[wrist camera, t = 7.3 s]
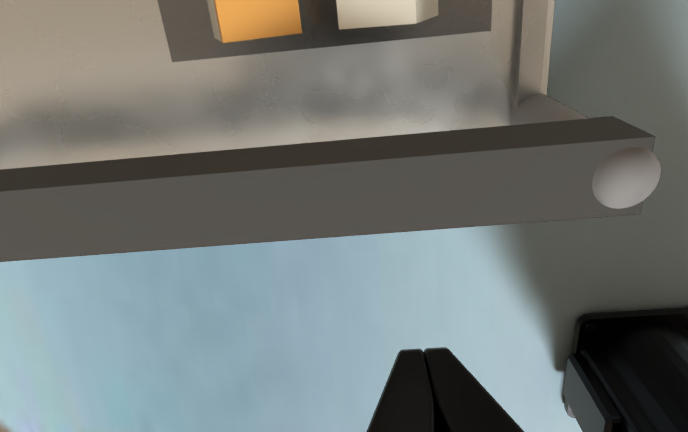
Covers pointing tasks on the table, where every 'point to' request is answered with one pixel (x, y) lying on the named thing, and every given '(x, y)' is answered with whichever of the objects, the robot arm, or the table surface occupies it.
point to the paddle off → (253, 19)
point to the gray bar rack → (333, 187)
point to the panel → (252, 77)
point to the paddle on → (384, 12)
